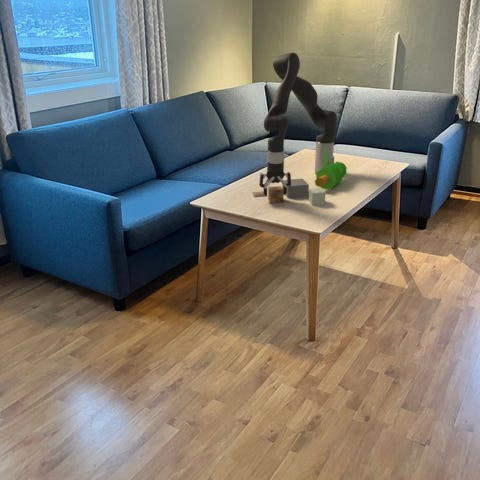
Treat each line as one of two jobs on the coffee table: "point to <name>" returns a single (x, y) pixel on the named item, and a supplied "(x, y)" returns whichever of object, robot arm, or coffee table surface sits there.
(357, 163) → the coffee table surface
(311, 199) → the sage cube
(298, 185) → the base block
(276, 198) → the walnut cube
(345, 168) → the decorative tree
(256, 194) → the card
